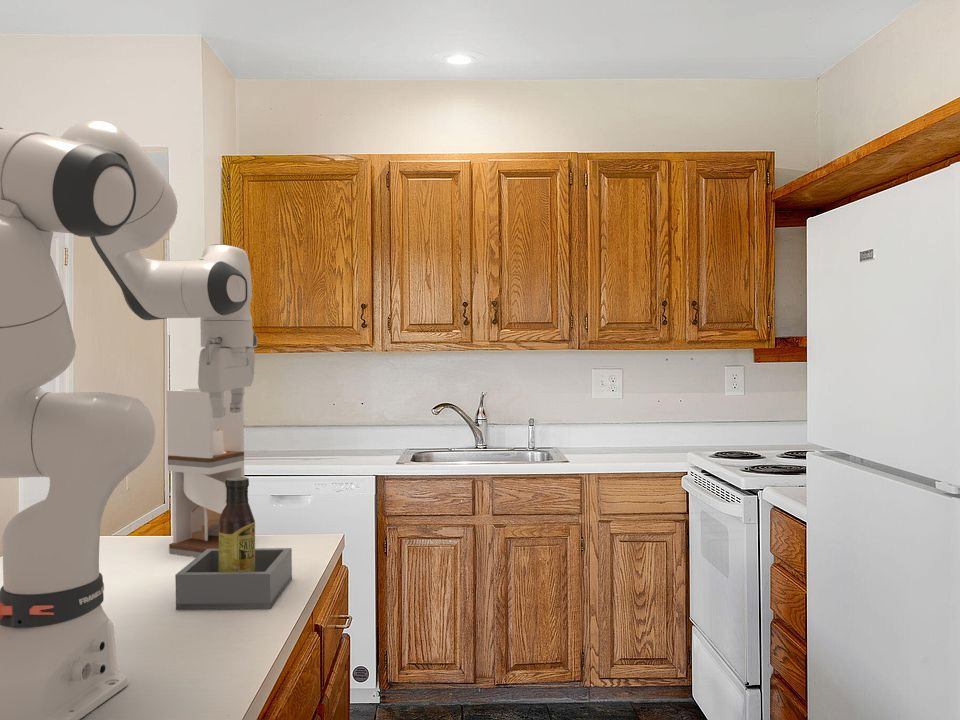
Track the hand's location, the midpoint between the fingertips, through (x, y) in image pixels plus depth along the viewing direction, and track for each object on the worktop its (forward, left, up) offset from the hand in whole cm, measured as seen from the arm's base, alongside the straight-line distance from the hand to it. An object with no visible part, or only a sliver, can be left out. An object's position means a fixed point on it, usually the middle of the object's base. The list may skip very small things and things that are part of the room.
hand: (227, 415), depth 138 cm
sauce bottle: (0, -1, -32) cm, 32 cm away
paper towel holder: (+29, +14, -33) cm, 46 cm away
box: (0, -1, -32) cm, 32 cm away
